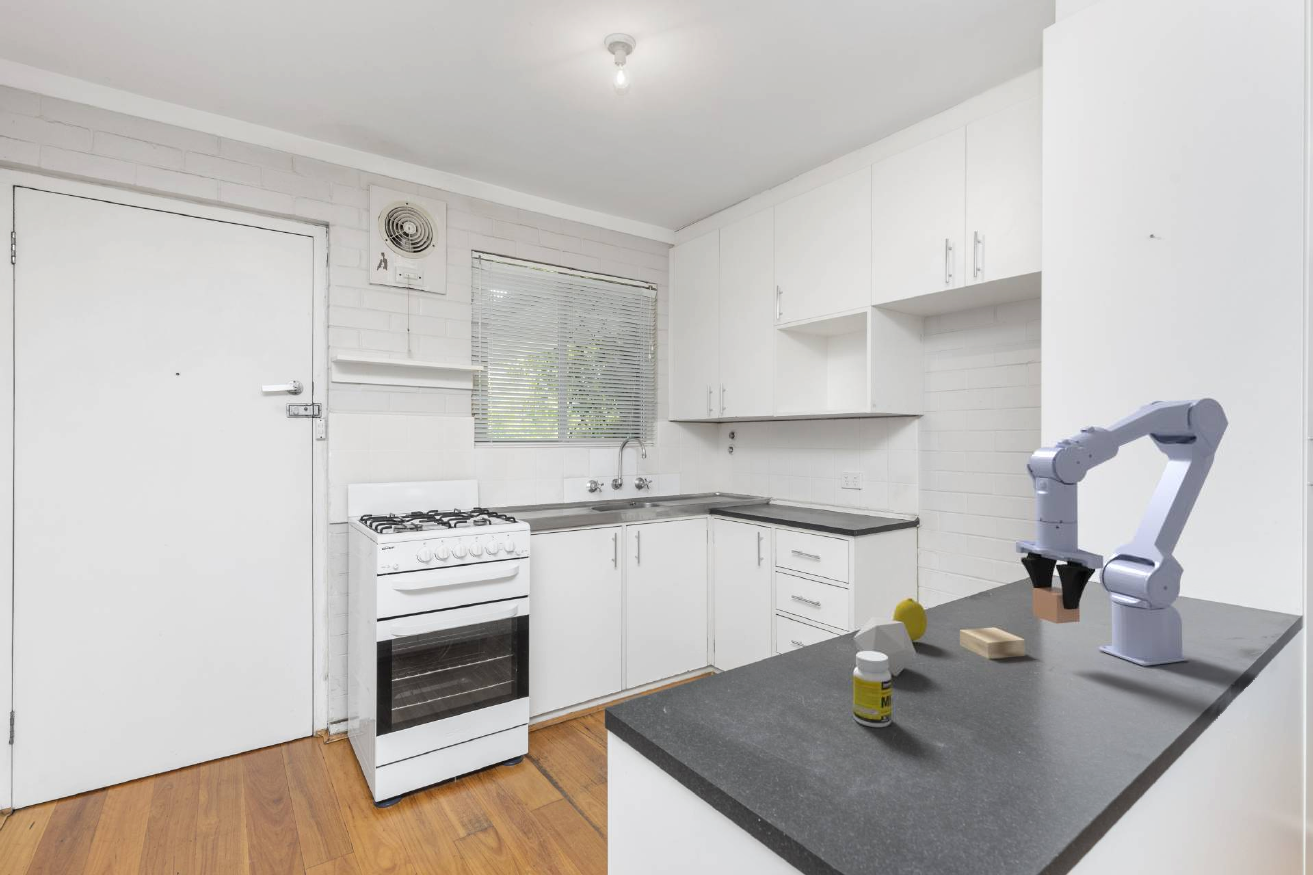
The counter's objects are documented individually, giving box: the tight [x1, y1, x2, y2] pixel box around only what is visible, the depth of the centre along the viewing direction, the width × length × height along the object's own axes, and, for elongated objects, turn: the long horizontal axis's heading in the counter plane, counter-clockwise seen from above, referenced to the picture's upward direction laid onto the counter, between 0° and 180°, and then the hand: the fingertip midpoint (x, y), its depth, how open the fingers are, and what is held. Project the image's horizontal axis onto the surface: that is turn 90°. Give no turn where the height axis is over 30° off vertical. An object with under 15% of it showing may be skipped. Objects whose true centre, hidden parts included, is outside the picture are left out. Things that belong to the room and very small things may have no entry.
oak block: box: [959, 626, 1026, 660], centre depth 107 cm, size 7×7×3 cm
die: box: [853, 616, 917, 677], centre depth 99 cm, size 8×9×10 cm
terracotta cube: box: [1032, 586, 1081, 624], centre depth 101 cm, size 4×4×4 cm
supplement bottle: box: [852, 651, 892, 728], centre depth 81 cm, size 5×5×8 cm
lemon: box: [893, 597, 928, 643], centre depth 112 cm, size 6×6×8 cm
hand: (1056, 604), depth 101 cm, fingers closed on terracotta cube, 4 cm apart
